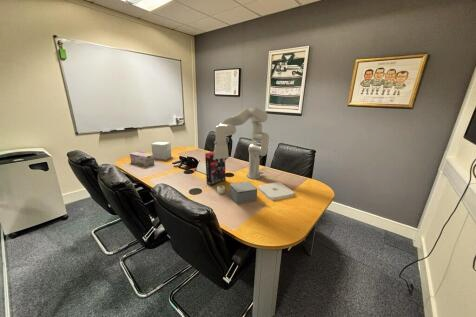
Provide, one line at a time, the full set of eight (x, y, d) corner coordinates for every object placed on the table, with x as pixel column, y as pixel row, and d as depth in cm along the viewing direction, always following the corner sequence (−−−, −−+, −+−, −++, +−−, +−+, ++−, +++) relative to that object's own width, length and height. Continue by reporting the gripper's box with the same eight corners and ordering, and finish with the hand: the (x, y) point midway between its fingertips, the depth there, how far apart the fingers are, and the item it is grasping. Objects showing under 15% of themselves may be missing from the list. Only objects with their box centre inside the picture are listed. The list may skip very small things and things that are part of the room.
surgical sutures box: (154, 164, 210) (153, 154, 206) (145, 167, 201) (144, 157, 198) (140, 160, 222) (138, 151, 218) (131, 162, 213) (129, 153, 210)
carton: (247, 191, 153) (248, 182, 150) (256, 199, 140) (257, 189, 138) (229, 195, 146) (229, 185, 144) (236, 204, 134) (236, 193, 132)
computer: (256, 188, 159) (256, 185, 158) (279, 184, 167) (279, 181, 166) (270, 201, 140) (270, 198, 139) (295, 196, 148) (295, 193, 147)
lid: (248, 182, 150) (248, 181, 150) (257, 189, 138) (257, 188, 138) (229, 184, 144) (230, 183, 144) (237, 192, 132) (237, 191, 132)
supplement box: (171, 156, 237) (170, 142, 231) (165, 160, 224) (164, 144, 219) (159, 155, 240) (157, 141, 235) (152, 158, 228) (150, 143, 223)
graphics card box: (210, 186, 160) (210, 155, 152) (205, 184, 164) (204, 153, 156) (225, 180, 172) (225, 151, 164) (220, 178, 176) (220, 149, 168)
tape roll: (223, 190, 155) (223, 184, 153) (225, 193, 149) (226, 187, 148) (216, 191, 152) (216, 185, 151) (218, 194, 147) (218, 189, 146)
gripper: (211, 144, 133) (212, 169, 138) (233, 143, 139) (232, 167, 144) (208, 142, 139) (209, 166, 145) (229, 140, 145) (229, 164, 151)
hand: (221, 166), depth 144 cm, fingers closed
